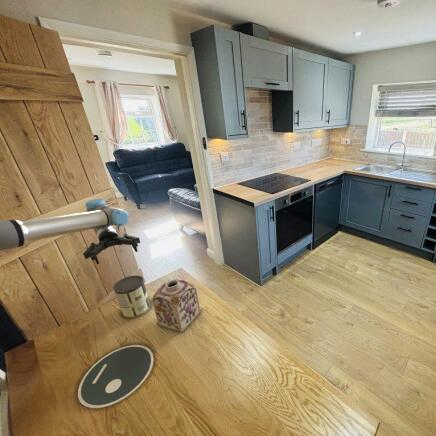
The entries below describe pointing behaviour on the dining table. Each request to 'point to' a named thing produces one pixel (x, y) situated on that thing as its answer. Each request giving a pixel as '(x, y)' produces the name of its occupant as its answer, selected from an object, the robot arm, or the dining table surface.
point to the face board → (115, 376)
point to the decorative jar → (176, 304)
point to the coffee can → (132, 296)
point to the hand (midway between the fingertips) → (117, 255)
